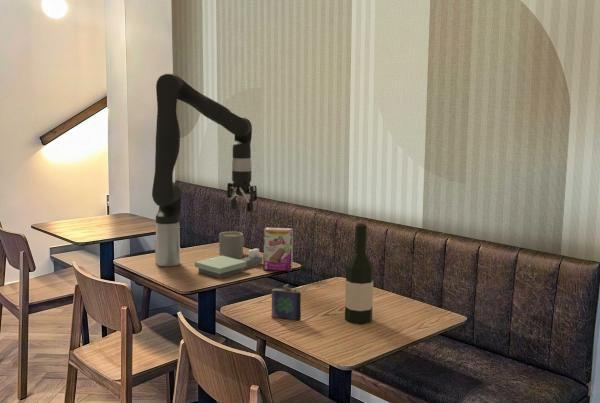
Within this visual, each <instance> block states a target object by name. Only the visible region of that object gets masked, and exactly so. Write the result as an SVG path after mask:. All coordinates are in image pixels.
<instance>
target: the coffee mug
mask: <svg viewBox="0 0 600 403" xmlns="http://www.w3.org/2000/svg"><path fill="white" fill-rule="evenodd" d="M218 237H219V238H218V239H219V240H218V241H219V245H218V246H219V252H218V253H219V254H218V256H226V257H230V258H234V259H238V260H239V259H243V258H244V247H245V237H244V234H243V232H240V231H232V230H231V231H222V232H220V233H219V234H218Z"/></svg>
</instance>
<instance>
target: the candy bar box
mask: <svg viewBox="0 0 600 403" xmlns="http://www.w3.org/2000/svg"><path fill="white" fill-rule="evenodd" d="M293 242H294V228H290V227H287V228H284V227H267V226H266V227H265V228H263V256H262V264H263V265H262V270H263V271H275V272H277V271H278V272H291V271H292V270H293V256H294V255H293V252H294V251H293V250H294V249H293V247H294V246H293V245H294V243H293Z"/></svg>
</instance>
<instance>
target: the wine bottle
mask: <svg viewBox="0 0 600 403" xmlns="http://www.w3.org/2000/svg"><path fill="white" fill-rule="evenodd" d="M354 229H355V232H354V233H355V236H354V238H355V239H354V253H353V255H352V257H351V258H350V259H349V262H348V263H347V265H346V266H345V268H346V270H345V296H344V297H345V301H344V302H345V303H344V305H345V306H344V310H345V311H344V320H345V321H346V322H347V323H349V324H352V325H353V324H354V325H366V324H370V323H371V322H372V320H373V306H374V305H373V302H374V272H375V270H374V267H375V265H374V264H373V263H372V261H371V259H370V257H369V256H368V254H367V238H368V237H367V235H368V233H367V232H368V225H366V222H365V221H364V222H363V221H362V222H361V221H360V222H359V221H357V222H356V224H355V228H354Z"/></svg>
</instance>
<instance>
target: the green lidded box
mask: <svg viewBox="0 0 600 403" xmlns="http://www.w3.org/2000/svg"><path fill="white" fill-rule="evenodd" d="M194 267H195V268H197V269H198V273H200V274H204V275H208V276H210V277H215V278H219V279H221V278H225V277H228V276H231V275H232V276H233V275H235V274H239V273H243V272H244V270H243V267H246V261H242V260H239V259H234V258H230V257H226V256H219V255H218V256H215V257H211V258H206V259H205V258H204V259H201V260H198V261H197V260H196V261H195V262H194Z"/></svg>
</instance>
